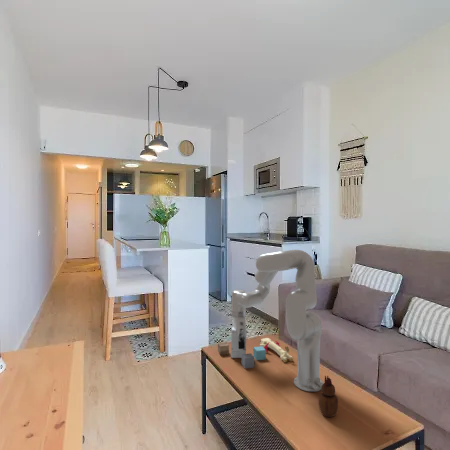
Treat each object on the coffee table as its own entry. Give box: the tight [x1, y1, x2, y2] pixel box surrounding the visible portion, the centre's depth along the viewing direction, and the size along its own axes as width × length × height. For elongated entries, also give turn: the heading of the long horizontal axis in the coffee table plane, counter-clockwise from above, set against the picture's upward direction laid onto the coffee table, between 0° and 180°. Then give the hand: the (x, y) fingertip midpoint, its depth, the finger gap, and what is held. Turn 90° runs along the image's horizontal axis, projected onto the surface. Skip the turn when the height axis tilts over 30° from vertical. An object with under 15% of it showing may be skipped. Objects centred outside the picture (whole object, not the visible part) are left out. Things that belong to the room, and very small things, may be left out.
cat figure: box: [259, 337, 294, 363], centre depth 169 cm, size 10×9×25 cm
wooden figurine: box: [318, 375, 339, 418], centre depth 114 cm, size 7×6×15 cm
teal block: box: [252, 345, 267, 361], centre depth 163 cm, size 5×5×5 cm
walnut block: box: [217, 341, 230, 356], centre depth 169 cm, size 5×5×5 cm
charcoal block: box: [241, 353, 255, 369], centre depth 154 cm, size 5×5×5 cm
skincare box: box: [230, 326, 248, 359], centre depth 165 cm, size 8×6×15 cm
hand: (238, 345), depth 165 cm, fingers open, 9 cm apart
